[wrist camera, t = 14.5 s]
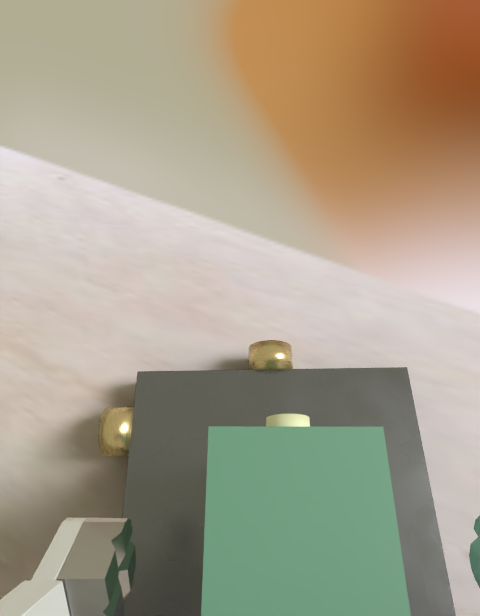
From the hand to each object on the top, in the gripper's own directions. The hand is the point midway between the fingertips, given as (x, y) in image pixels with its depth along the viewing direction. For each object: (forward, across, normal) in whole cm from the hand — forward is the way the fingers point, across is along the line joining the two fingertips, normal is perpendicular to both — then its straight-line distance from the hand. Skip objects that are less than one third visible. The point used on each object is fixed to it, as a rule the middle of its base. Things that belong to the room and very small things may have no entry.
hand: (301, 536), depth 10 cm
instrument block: (+5, 0, +4) cm, 7 cm away
